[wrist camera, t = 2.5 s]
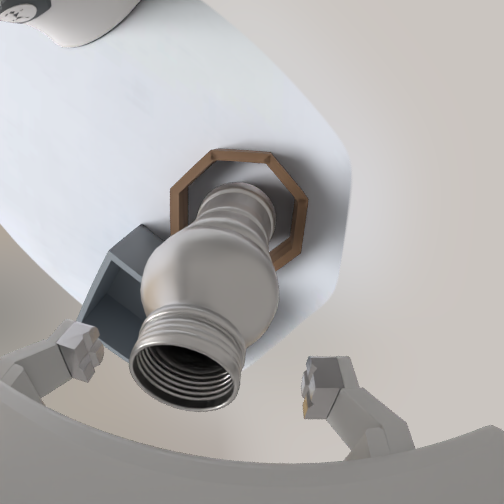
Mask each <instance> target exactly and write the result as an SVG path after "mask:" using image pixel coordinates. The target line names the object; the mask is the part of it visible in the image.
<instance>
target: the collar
mask: <svg viewBox="0 0 504 504" xmlns="http://www.w3.org/2000/svg"><path fill="white" fill-rule="evenodd" d="M217 160H223V161H240V162H253V163H265V164H267V165H268V167H269V168H270V169H271V170H272V171H273V172H274V174H275V175H276V176H277V177H278V178H279V179H280V181H281V182H282V183H283V184H284V185H285V187H286V188H287V189H288V190H289V191H290V193H291V194H292V195H293V196H294V198H295V199H294V207H293V216H292V224H291V232H290V237H289V238H288V239H286V240H285V241H284V242H282V243H281V244H280V245H278V246H277V247H276V248H274V249H273V250H272V251H270V252H269V254H270V257H271V260H272V263H273V266H274V268H275V272H276V271H277V270H278V269H280V268H281V267H283V266H284V265H285V264H287V263H288V262H289V261H291V260H292V259H294V258H295V257H296V256H298V255H299V254H300V253H301V249H302V242H303V235H304V228H305V221H306V214H307V207H308V198H307V196H306V195H305V193H304V192H303V191H302V189H301V188H300V187H299V186H298V184H297V183H296V182H295V181H294V180H293V178H292V177H291V176H290V175H289V173H288V172H287V171H286V170H285V169H284V167H283V166H282V165H281V164H280V163H279V162H278V160H277V159H276V158H275V157H274V156H273V155H272V153H271V152H263V151H250V150H235V149H214V150H210V151H209V152H208V153H207V154H206V155H205V156H204V157H203V158H202V159H201V160H200V161H198V162H197V163H196V164H195V165H194V166H193V167H192V168H191V169H190V170H189V171H188V172H187V173H186V174H185V175H184V176H183V177H182V178H181V179H180V180H179V181H178V182H177V183H176V184H175V185H174V186H173V187H172V188H171V189H170V230H171V236H172V235H174V234H175V233H177V232H179V231H180V230H182V229H184V228H186V227H187V226H188V186H189V185H191V184H192V183H193V182H194V181H195V180H196V179H197V178H198V177H199V176H200V175H201V174H202V173H203V172H205V171H206V170H207V169H208V168H209V167H210V166H211V165H212V164H213V163H214V162H216V161H217Z"/></svg>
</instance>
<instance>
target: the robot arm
mask: <svg viewBox="0 0 504 504" xmlns="http://www.w3.org/2000/svg"><path fill="white" fill-rule="evenodd" d="M139 2H140V0H0V21H4V22H10V23H20V24H22V23H23V24H26V25H28V26H31V27H33V28H35V29H36V30H38V31H40V32H42V33H43V34H45V35H46V36H47V37H49V38H50V39H51V40H52V41H53V42H54V43H55V44H56V45H58V46H61V47H65V48H72V47H78V46H82V45H85V44H87V43H90V42H92V41H94V40H96V39H97V38H99V37H101V36H102V35H104V34H105V33H107V32H108V31H110V30H111V29H112V28H114V27H115V26H116V25H117V24H118V23H120V22H121V21H122V20H123V19H124V18H125V17H126V16H127V15H128V14H129V13H130V12H131V11H132V10H133V8H134V7H135V6H136V5H137V4H138V3H139ZM99 336H100V333H99V330H98V328H96V327H95V326H91V325H88V324H84V323H81V322H78V321H73V320H70V319H66V320H64V321H63V322H62V323H61V324H60V325H59V327H58V328H57V329H56V330H55V331H54V332H53V333H52V334H51V335H50V336H49V337H48V339H47V340H44V339H43V340H41V341H38V342H36V343H33V344H31V345H28V346H26V347H23V348H20V349H18V350H15V351H13V352H10V353H8V354H5V355H3V356H2V357H1V358H0V504H504V431H503V430H501V429H499V428H497V427H495V426H493V425H491V426H490V425H489V426H485V427H482V428H480V429H477V430H475V431H472V432H470V433H467V434H464V435H461V436H458V437H456V438H452V439H449V440H446V441H443V442H440V443H436V444H433V445H429V446H425V447H422V448H418V449H415V446H414V443H413V440H412V437H411V434H410V431H409V429H408V426H407V423H406V422H405V421H404V420H403V419H401V418H400V417H399V416H397V415H396V414H395V413H394V412H392V411H391V410H390V409H389V408H387V407H386V406H385V405H384V404H383V403H381V402H380V401H379V400H378V399H376V398H375V397H374V396H373V395H371V394H370V393H369V392H368V391H367V390H365V389H364V388H360V387H359V384H358V381H357V378H356V375H355V371H354V368H353V365H352V362H351V359H350V357H348V356H339V357H338V356H336V357H323V356H322V357H321V356H309V357H308V359H307V363H306V367H307V370H306V371H305V372H304V373H303V377H302V384H301V393H302V397H303V398H304V402H303V414H304V419H327V421H328V423H329V424H330V425H331V427H332V428H333V429H334V430H335V431H336V432H337V434H338V435H339V436H340V437H341V439H342V440H343V441H344V442H345V443H346V445H347V446H348V447H349V448H350V449H351V452H350V453H349V455H348V456H347V457H346V458H345V460H344V461H338V462H325V463H300V464H299V463H297V464H285V463H282V464H281V463H256V462H242V461H232V460H224V459H216V458H209V457H203V456H197V455H191V454H186V453H181V452H175V451H171V450H167V449H162V448H158V447H154V446H150V445H146V444H143V443H139V442H136V441H132V440H129V439H125V438H122V437H119V436H116V435H113V434H110V433H107V432H104V431H102V430H99V429H96V428H94V427H91V426H88V425H86V424H83V423H81V422H78V421H76V420H74V419H71V418H69V417H67V416H65V415H63V414H61V413H58V412H56V411H54V410H52V409H50V408H48V407H46V406H45V404H44V402H43V401H42V399H41V398H42V397H44V396H45V395H47V394H49V393H50V392H52V391H53V390H55V389H56V388H58V387H59V386H61V385H63V384H64V383H66V382H67V381H69V380H70V379H72V378H75V379H78V380H81V381H84V382H87V383H88V382H89V380H90V379H91V377H92V376H93V374H94V373H95V370H94V367H96V366H98V365H100V363H101V362H102V360H103V356H104V347H103V344H102V342H101V341H100V340H99V339H98V338H99Z"/></svg>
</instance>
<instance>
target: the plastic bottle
mask: <svg viewBox="0 0 504 504" xmlns="http://www.w3.org/2000/svg"><path fill="white" fill-rule="evenodd" d="M275 226H276V212H275V208H274V206H273V204H272V202H271V200H270V199H269V198H268V196H267V195H266V194H265V193H264V192H263V191H261V190H260V189H259V188H257V187H255V186H253V185H251V184H248V183H242V182H232V183H226V184H223V185H220V186H218V187H216V188H214V189H213V190H212V191H211V192H209V193H208V194H207V196H206V197H205V198H204V200H203V202H202V203H201V205H200V208H199V211H198V214H197V218H196V220H195V221H194V222H192V223H191V224H190V225H189V226H187V227H186V228H184V229H182V230H180V231H179V232H177V233H175V234H174V235H172V236H170V237H169V238H168V239H167V240H166V241H165V242H163V243H162V244H161V245H160V246H159V247H157V248H156V249H155V250H154V252H153V253H152V255H151V256H150V257H149V259H148V261H147V264H146V266H145V268H144V272H143V277H142V282H141V289H140V292H141V301H142V304H143V308H144V311H145V314H146V317H147V318H146V319H145V321H144V323H143V324H142V326H141V329H140V331H139V336H138V340H137V342H136V344H135V345H134V347H133V349H132V352H131V354H130V359H129V369H130V373H131V375H132V377H133V379H134V380H135V382H136V383H137V384H138V386H139V387H140V388H141V389H142V390H143V391H144V392H146V393H147V394H148V395H150V396H151V397H153V398H154V399H156V400H158V401H159V402H161V403H164V404H166V405H168V406H171V407H174V408H177V409H181V410H186V411H194V412H207V411H213V410H218V409H220V408H223V407H225V406H227V405H229V404H230V403H231V402H232V401H233V400H234V399H235V397H236V396H237V394H238V390H239V386H240V378H241V371H242V368H243V366H244V363H245V355H246V348H248V347H249V346H250V345H252V344H253V343H254V342H256V341H257V340H258V339H259V338H261V337H262V335H263V334H264V333H265V332H266V330H267V329H268V327H269V325H270V323H271V321H272V320H273V317H274V315H275V313H276V311H277V308H278V303H279V285H278V279H277V275H276V272H275V268H274V266H273V263H272V260H271V257H270V254H269V248H268V244H269V241H270V240H271V238H272V235H273V232H274V230H275Z"/></svg>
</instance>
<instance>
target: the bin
mask: <svg viewBox="0 0 504 504" xmlns="http://www.w3.org/2000/svg"><path fill="white" fill-rule="evenodd" d="M163 242H164V241H163V240H161V239H160V238H159V237H158V236H156V235H155V234H154V233H152V232H151V231H150V230H149V229H147V228H146V227H145V226H143V225H142V224H141V225H139V226H138V227H137V228H136V229H134V230H133V231H132V232H131V233H129V234H128V235H127V236H126V237H124V238H123V239H122V240H121V241H119V242H118V243H117V244H116V245H115V246H113V247H112V248H111V249H110V250H109V251H108V253H107V255H106V257H105V259H104V261H103V263H102V265H101V267H100V269H99V271H98V273H97V275H96V277H95V279H94V281H93V283H92V286H91V288H90V290H89V292H88V294H87V297H86V299H85V301H84V303H83V306H82V308H81V311H80V313H79V315H78V318H77V320H76V321H78V322H81V323H84V324H88V325H91V326H95V327H96V328H98V330H99V333H100V336H99V338H98V339H99V340H100V341H101V342H102V344H103V346H105V347H106V348H108V349H109V350H110V351H112V352H113V353H114V354H116V355H118V356H119V357H120V358H122V359H123V360H125V361H126V362H128V363H129V359H130V354H131V352H132V349H133V347H134V345H135V344H136V342H137V340H138V336H139V331H140V329H141V326H142V324H143V323H144V321H145V319H146V318H147V317H146V314H145V311H144V308H143V304H142V301H141V292H140V289H141V282H142V277H143V272H144V268H145V266H146V264H147V261H148V259H149V257H150V256H151V255H152V253H153V252H154V250H155V249H156V248H157V247H159V246H160V245H161V244H162V243H163Z"/></svg>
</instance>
